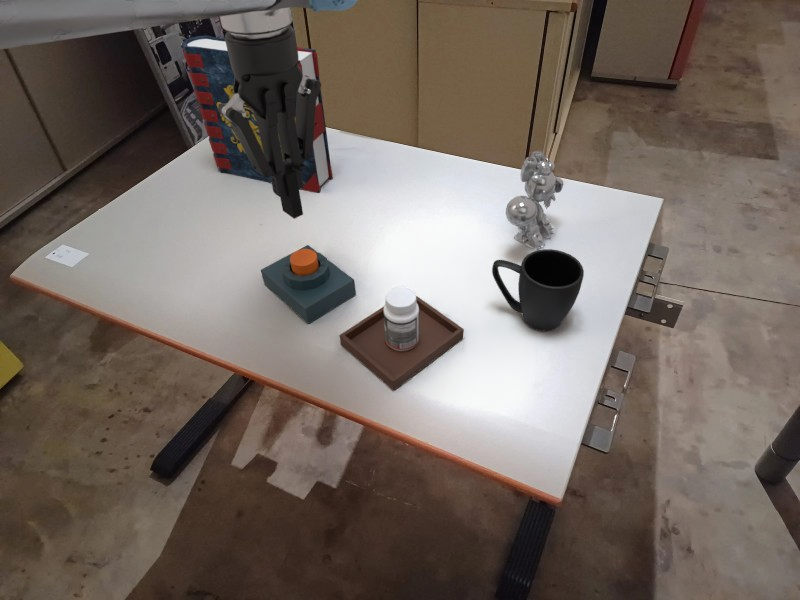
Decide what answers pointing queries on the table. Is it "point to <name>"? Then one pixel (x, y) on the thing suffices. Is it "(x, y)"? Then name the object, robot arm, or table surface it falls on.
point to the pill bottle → (401, 319)
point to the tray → (401, 365)
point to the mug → (543, 287)
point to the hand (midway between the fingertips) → (292, 212)
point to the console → (309, 286)
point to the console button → (304, 262)
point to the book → (247, 111)
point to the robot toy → (534, 200)
